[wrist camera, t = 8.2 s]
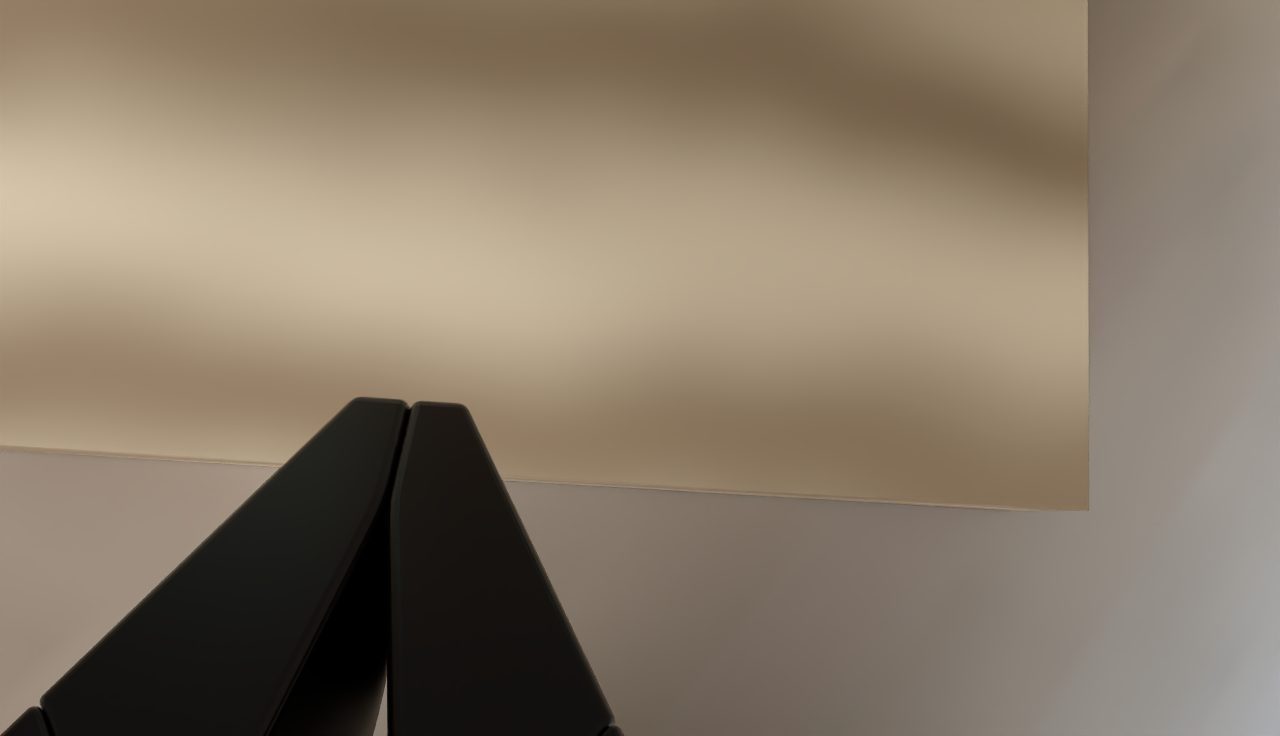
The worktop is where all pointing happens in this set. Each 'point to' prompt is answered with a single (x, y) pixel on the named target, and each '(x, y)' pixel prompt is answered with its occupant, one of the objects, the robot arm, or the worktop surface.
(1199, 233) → the worktop surface
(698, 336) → the bench plate
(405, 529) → the robot arm
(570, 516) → the worktop surface
